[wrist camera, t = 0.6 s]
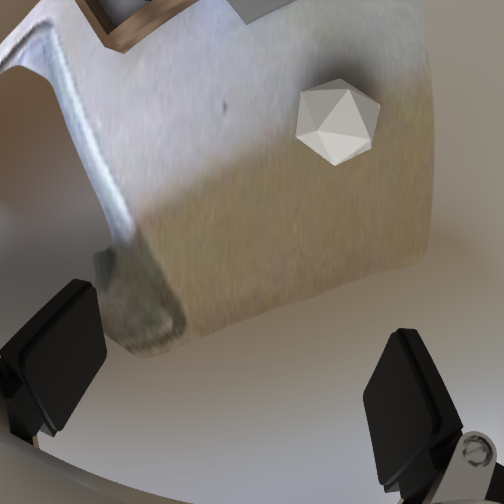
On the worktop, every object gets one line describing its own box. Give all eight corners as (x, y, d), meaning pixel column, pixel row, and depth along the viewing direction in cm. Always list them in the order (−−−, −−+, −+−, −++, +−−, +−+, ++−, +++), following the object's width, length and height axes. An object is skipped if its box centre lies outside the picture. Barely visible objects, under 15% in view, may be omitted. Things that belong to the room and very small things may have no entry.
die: (287, 149, 35) (338, 192, 28) (272, 82, 28) (331, 112, 22) (342, 125, 36) (397, 161, 29) (334, 62, 29) (400, 87, 23)
